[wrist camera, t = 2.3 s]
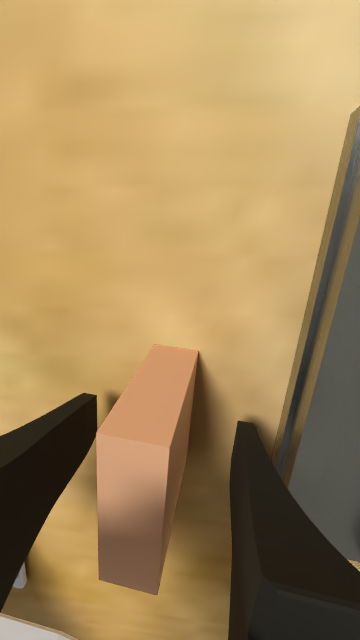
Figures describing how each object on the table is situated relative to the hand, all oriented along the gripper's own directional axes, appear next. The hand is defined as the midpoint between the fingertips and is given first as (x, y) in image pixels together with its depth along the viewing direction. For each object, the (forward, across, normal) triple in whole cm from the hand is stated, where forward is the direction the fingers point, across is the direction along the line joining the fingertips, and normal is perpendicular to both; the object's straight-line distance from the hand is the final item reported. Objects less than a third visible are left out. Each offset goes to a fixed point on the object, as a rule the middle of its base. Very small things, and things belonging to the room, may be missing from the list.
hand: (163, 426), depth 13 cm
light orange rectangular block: (+2, 0, 0) cm, 2 cm away
